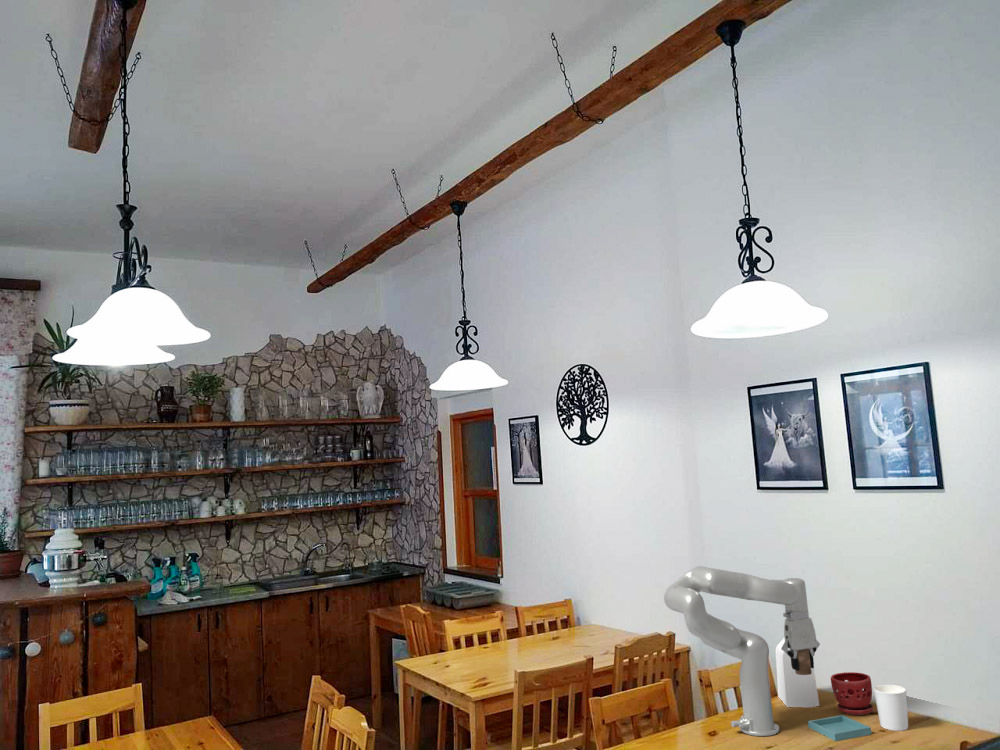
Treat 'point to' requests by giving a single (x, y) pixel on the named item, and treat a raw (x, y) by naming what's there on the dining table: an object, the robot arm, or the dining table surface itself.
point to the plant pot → (853, 692)
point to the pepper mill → (804, 662)
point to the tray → (839, 727)
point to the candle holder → (892, 707)
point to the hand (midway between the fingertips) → (803, 667)
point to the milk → (794, 683)
